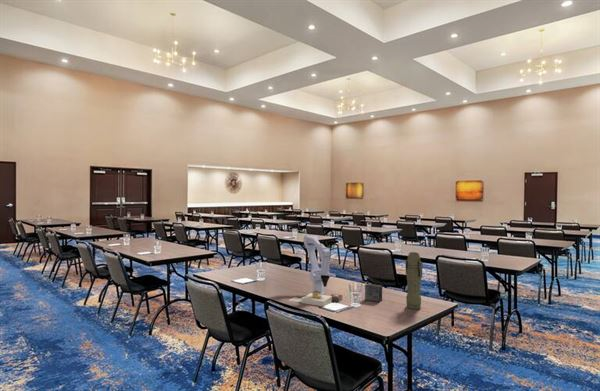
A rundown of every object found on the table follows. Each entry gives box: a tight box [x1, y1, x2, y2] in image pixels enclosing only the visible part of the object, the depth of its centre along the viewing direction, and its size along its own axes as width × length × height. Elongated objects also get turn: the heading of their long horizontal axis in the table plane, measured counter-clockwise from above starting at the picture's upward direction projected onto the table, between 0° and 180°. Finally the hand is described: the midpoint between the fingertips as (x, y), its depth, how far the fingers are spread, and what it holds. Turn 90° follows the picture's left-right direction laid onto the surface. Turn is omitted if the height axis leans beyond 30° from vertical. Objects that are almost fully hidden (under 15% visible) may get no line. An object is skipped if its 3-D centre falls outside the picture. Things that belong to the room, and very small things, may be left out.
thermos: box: [405, 251, 423, 310], centre depth 232 cm, size 9×12×35 cm
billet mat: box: [288, 296, 303, 303], centre depth 246 cm, size 9×9×1 cm
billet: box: [312, 291, 320, 299], centre depth 242 cm, size 4×4×6 cm
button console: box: [329, 293, 343, 303], centre depth 247 cm, size 7×7×3 cm
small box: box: [364, 283, 383, 303], centre depth 247 cm, size 11×6×10 cm, turn 59°
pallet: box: [301, 292, 333, 307], centre depth 241 cm, size 14×16×4 cm
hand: (325, 286), depth 250 cm, fingers closed
